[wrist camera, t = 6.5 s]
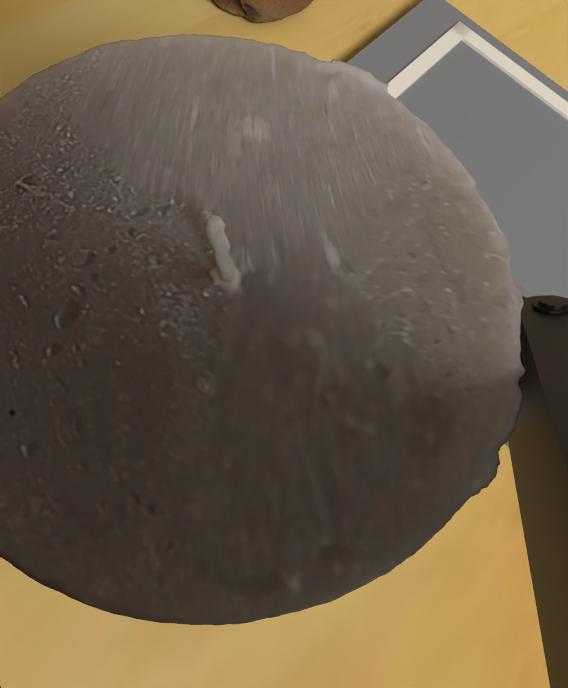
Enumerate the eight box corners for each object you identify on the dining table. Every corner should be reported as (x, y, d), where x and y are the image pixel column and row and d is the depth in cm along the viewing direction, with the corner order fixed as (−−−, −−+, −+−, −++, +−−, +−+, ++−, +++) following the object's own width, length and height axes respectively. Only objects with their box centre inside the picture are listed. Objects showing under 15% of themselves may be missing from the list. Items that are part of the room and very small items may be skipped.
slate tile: (210, 186, 24) (209, 171, 23) (426, 8, 29) (434, -11, 28) (561, 492, 22) (579, 491, 20) (730, 237, 27) (751, 225, 26)
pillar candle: (42, 496, 19) (-435, 445, 5) (159, 275, 22) (68, -136, 8) (288, 598, 19) (500, 831, 5) (370, 362, 22) (639, 101, 8)
